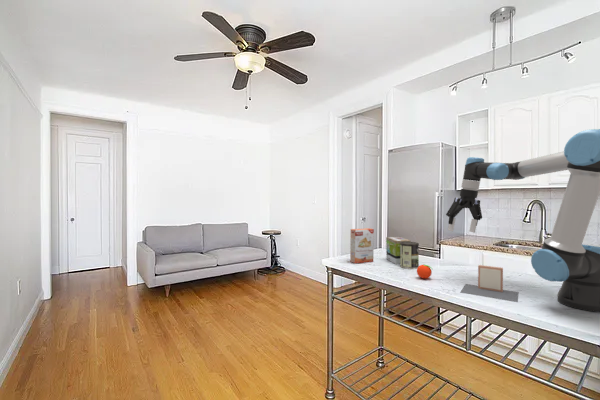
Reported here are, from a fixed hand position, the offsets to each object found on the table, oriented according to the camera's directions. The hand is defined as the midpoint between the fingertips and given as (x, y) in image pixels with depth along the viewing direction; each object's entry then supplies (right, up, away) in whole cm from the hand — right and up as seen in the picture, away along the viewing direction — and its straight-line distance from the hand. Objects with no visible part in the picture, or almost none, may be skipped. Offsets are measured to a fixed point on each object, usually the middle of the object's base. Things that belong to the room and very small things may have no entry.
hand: (461, 231), depth 150 cm
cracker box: (-41, -24, +39) cm, 62 cm away
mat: (0, -24, -22) cm, 33 cm away
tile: (+3, -24, -18) cm, 30 cm away
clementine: (-18, -24, +1) cm, 30 cm away
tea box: (-19, -23, +40) cm, 50 cm away
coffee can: (-17, -24, +26) cm, 39 cm away
